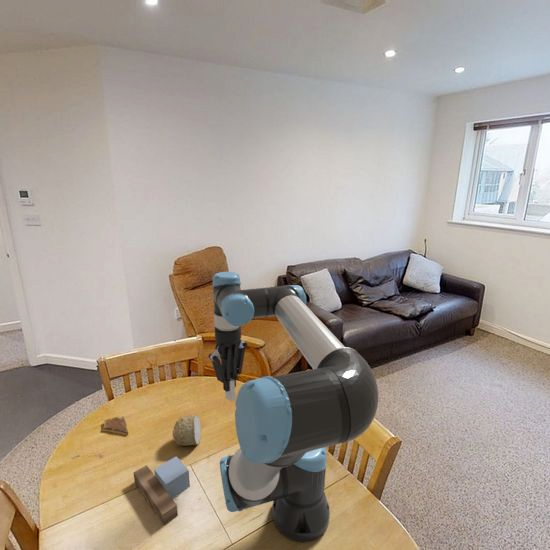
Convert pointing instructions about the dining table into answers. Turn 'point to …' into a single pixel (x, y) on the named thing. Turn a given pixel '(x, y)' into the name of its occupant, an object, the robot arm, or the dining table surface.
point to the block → (173, 476)
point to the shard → (116, 425)
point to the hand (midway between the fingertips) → (230, 398)
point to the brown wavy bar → (155, 494)
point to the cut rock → (187, 430)
